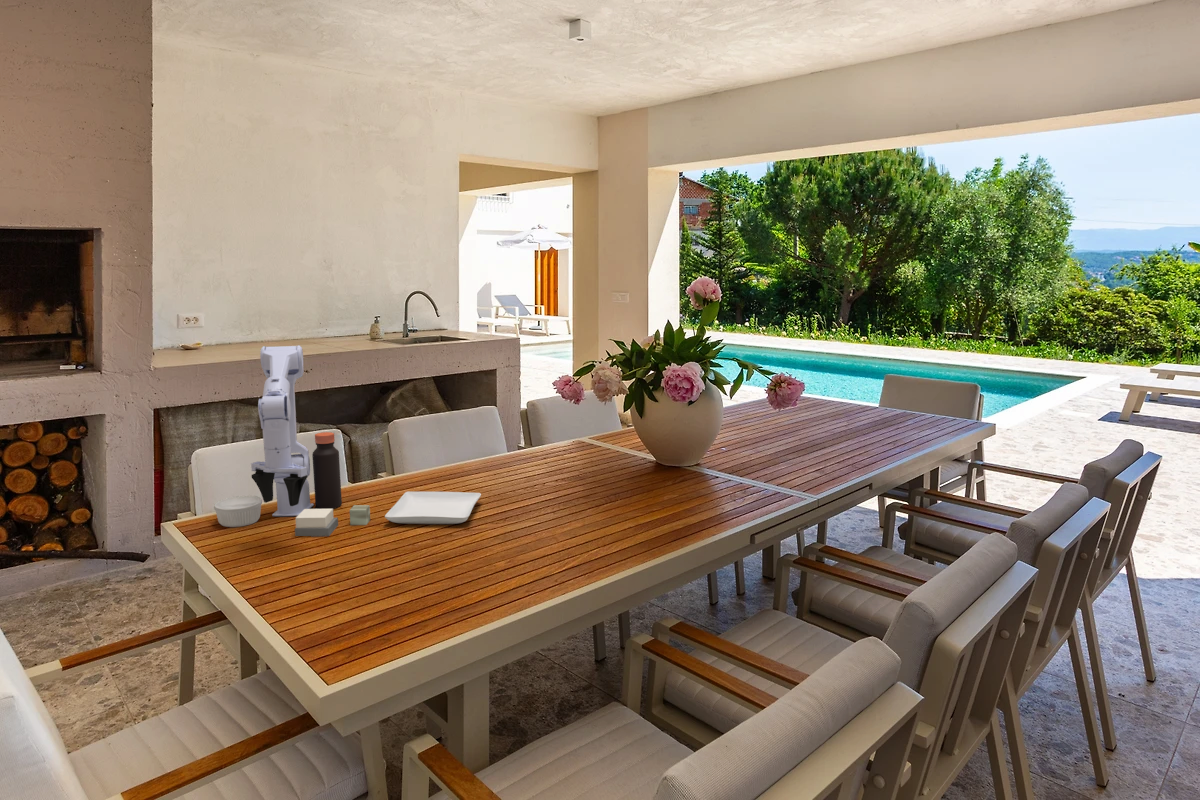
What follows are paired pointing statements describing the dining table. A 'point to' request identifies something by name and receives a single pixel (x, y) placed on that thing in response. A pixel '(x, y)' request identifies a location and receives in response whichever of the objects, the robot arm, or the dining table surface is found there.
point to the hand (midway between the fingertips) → (281, 503)
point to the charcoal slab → (318, 530)
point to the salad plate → (433, 507)
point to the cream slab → (314, 518)
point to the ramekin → (238, 510)
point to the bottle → (326, 472)
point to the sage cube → (360, 515)
